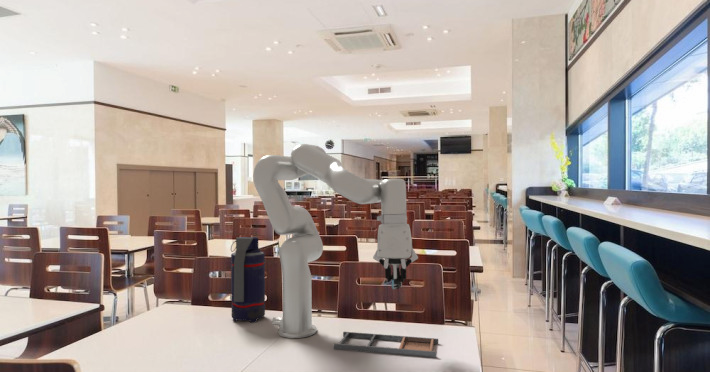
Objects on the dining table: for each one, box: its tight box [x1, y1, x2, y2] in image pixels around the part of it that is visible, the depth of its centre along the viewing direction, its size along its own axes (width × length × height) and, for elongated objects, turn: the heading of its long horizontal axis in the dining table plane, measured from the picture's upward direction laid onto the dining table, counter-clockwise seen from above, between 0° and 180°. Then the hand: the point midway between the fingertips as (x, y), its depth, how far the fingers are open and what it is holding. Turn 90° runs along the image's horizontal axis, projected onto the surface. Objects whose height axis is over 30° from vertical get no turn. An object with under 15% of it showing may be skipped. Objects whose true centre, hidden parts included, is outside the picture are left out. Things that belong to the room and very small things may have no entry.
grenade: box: [230, 236, 266, 324], centre depth 159 cm, size 14×12×30 cm
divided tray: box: [333, 331, 439, 359], centre depth 131 cm, size 30×11×2 cm, turn 76°
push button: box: [389, 259, 403, 290], centre depth 130 cm, size 7×5×10 cm
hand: (396, 280), depth 130 cm, fingers closed on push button, 3 cm apart
